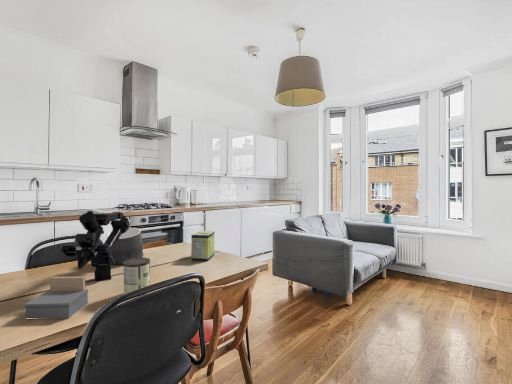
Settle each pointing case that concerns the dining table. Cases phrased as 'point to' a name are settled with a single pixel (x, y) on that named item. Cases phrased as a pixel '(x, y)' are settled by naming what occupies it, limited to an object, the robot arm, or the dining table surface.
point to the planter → (128, 246)
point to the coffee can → (136, 274)
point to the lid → (60, 292)
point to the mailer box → (57, 310)
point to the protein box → (202, 245)
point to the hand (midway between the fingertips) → (79, 268)
